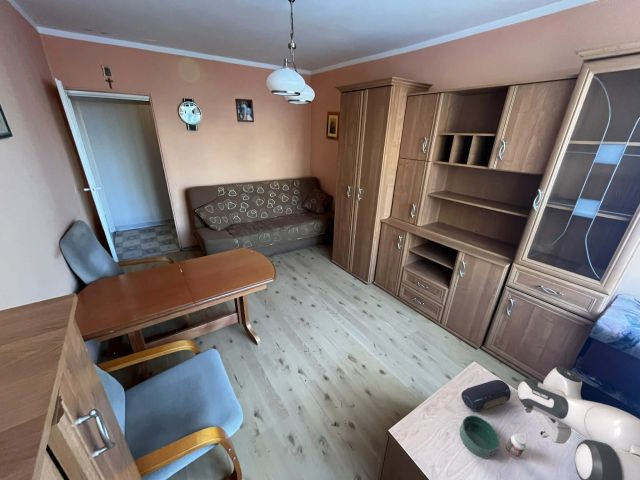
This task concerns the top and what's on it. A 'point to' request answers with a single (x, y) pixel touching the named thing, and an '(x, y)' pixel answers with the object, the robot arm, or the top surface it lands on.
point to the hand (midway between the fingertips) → (534, 423)
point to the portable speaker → (486, 395)
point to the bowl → (479, 436)
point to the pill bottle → (516, 445)
